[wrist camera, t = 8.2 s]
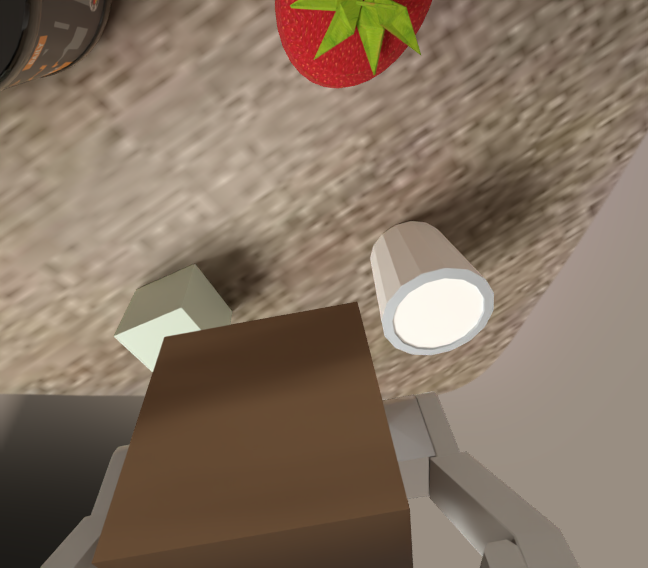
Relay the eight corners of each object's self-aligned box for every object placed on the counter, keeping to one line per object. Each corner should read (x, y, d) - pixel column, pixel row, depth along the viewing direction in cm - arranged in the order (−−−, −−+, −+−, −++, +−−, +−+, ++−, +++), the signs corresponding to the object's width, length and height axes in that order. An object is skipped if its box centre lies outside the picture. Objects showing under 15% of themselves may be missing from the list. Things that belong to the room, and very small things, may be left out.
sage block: (136, 289, 29) (113, 336, 25) (195, 263, 28) (181, 307, 24) (177, 333, 32) (163, 382, 28) (232, 310, 31) (225, 357, 27)
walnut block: (164, 336, 10) (91, 563, 6) (357, 301, 10) (409, 508, 6) (224, 442, 13) (201, 640, 9) (373, 416, 13) (415, 605, 9)
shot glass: (347, 238, 28) (365, 299, 23) (440, 196, 27) (483, 249, 21) (380, 304, 32) (402, 370, 26) (462, 270, 31) (504, 332, 25)
